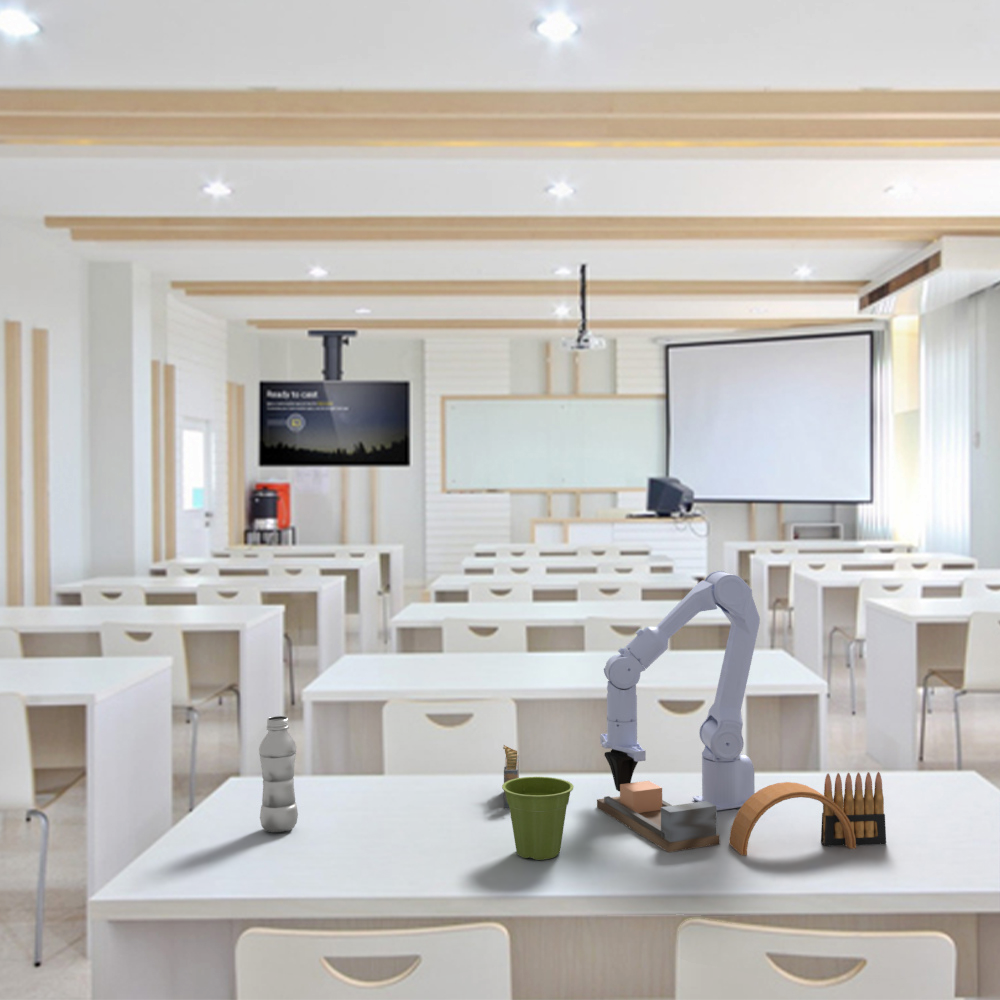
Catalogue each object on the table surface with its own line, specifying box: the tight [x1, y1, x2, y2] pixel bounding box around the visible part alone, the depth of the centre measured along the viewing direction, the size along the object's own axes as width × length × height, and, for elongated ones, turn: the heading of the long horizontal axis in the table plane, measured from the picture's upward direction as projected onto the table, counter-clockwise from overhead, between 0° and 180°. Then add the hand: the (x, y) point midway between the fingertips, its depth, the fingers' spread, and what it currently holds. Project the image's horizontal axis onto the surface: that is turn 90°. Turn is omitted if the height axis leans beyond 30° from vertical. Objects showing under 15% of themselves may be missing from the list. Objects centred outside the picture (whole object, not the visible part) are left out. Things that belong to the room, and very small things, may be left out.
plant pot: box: [501, 776, 575, 861], centre depth 170 cm, size 12×12×11 cm
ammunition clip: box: [820, 771, 887, 847], centre depth 174 cm, size 11×2×12 cm, turn 95°
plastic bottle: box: [258, 715, 299, 833], centre depth 182 cm, size 6×7×20 cm
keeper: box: [619, 780, 663, 813], centre depth 188 cm, size 6×5×4 cm
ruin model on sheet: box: [502, 744, 520, 809], centre depth 200 cm, size 11×3×10 cm, turn 178°
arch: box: [728, 781, 857, 856], centre depth 172 cm, size 6×20×10 cm, turn 98°
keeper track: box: [596, 795, 721, 853], centre depth 184 cm, size 10×26×6 cm, turn 21°
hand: (622, 790), depth 195 cm, fingers closed
